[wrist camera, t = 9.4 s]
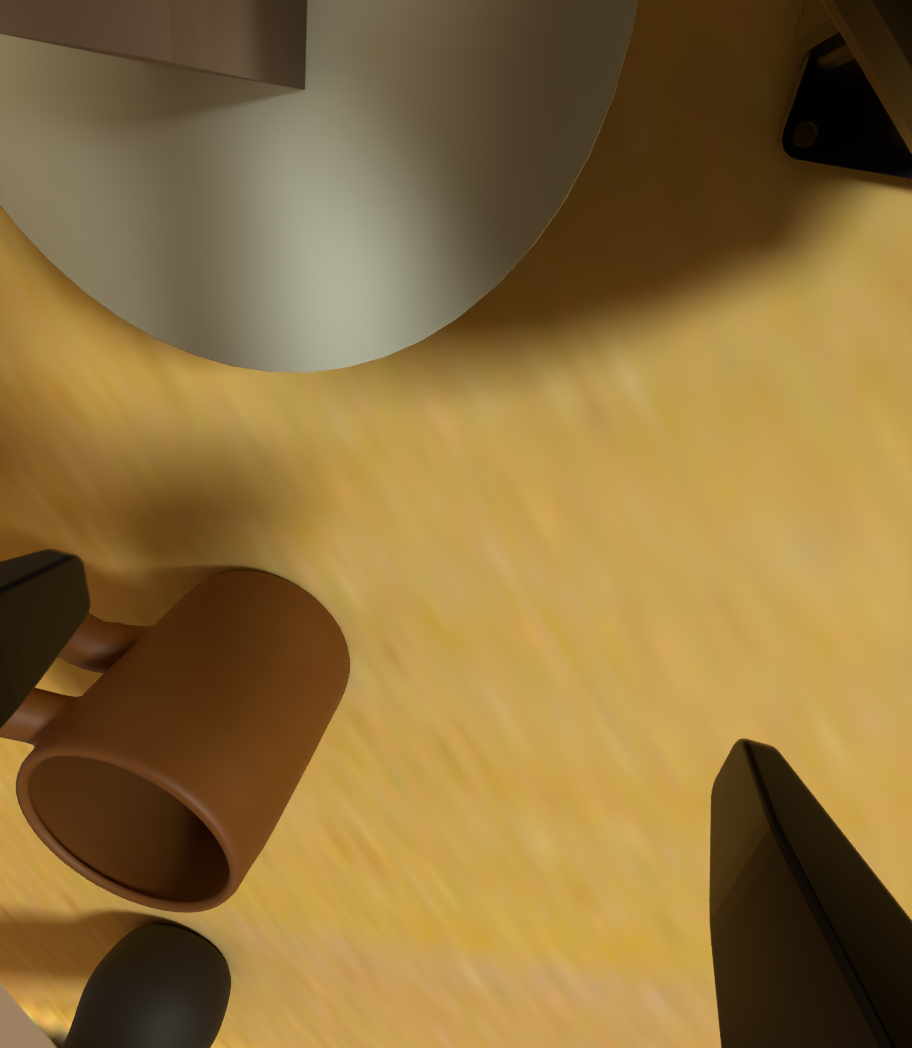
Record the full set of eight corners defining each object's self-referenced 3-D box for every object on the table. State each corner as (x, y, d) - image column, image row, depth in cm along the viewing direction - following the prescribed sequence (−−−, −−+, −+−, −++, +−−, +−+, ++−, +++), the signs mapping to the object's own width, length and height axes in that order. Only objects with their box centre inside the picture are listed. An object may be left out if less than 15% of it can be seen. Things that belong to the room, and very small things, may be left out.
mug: (75, 573, 28) (-144, 739, 20) (137, 453, 24) (-103, 598, 16) (300, 733, 30) (181, 944, 22) (392, 645, 26) (288, 861, 18)
